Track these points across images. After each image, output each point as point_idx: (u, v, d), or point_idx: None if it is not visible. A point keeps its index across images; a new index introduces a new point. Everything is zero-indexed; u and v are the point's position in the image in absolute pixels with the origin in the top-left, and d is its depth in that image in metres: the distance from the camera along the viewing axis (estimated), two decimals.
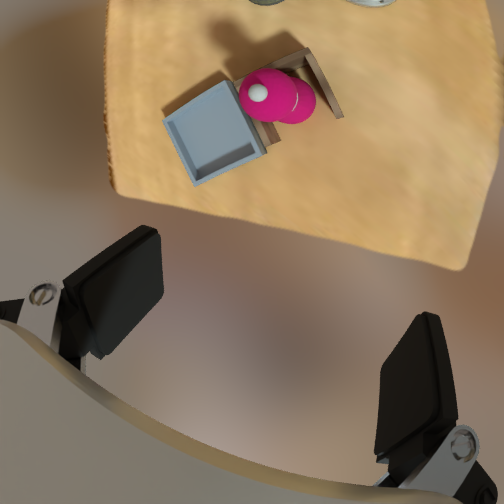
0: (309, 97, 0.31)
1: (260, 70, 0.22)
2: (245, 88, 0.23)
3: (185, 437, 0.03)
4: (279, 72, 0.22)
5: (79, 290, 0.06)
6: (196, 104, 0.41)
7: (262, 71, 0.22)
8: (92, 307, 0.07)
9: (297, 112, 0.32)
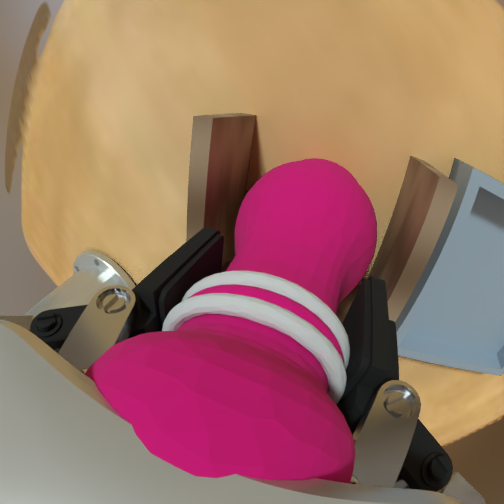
0: (240, 216, 0.12)
1: None
2: None
3: None
4: None
5: (158, 294, 0.07)
6: (455, 349, 0.17)
7: None
8: (169, 311, 0.07)
9: (289, 208, 0.10)
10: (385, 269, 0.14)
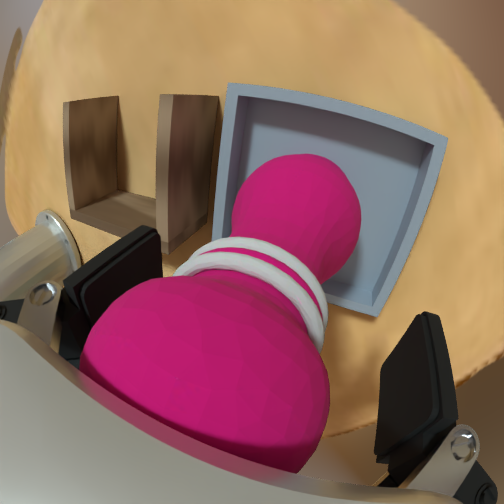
0: (236, 203, 0.13)
1: None
2: None
3: (185, 437, 0.03)
4: None
5: (79, 290, 0.06)
6: None
7: None
8: (92, 307, 0.07)
9: (278, 193, 0.11)
10: None
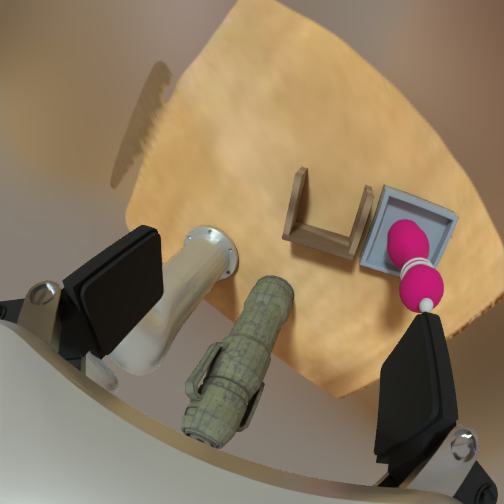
0: (397, 243, 0.36)
1: (409, 309, 0.29)
2: None
3: (185, 437, 0.03)
4: (402, 298, 0.29)
5: (79, 290, 0.06)
6: (396, 268, 0.44)
7: (409, 308, 0.29)
8: (92, 307, 0.07)
9: (414, 242, 0.34)
10: (355, 226, 0.42)
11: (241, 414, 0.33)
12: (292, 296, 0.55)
